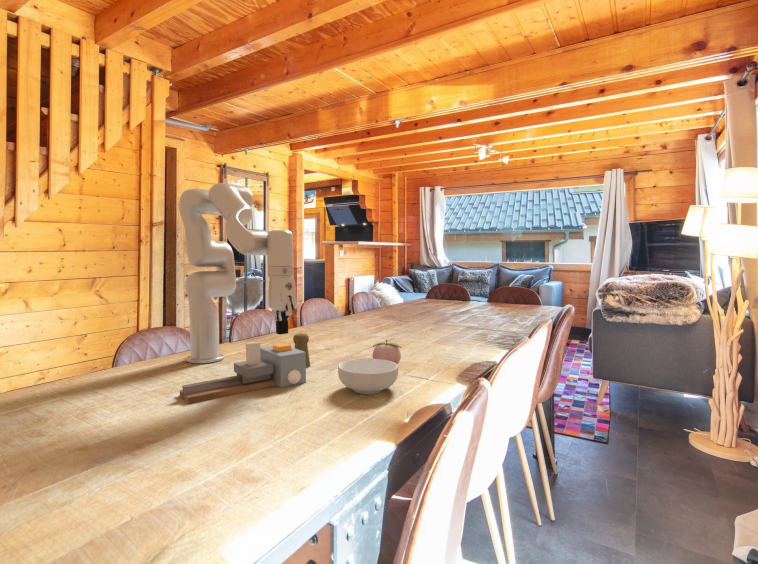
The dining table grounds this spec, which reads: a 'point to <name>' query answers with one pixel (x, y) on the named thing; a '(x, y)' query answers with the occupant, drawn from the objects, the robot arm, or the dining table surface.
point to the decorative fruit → (387, 352)
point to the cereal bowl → (367, 374)
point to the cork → (302, 345)
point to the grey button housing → (286, 365)
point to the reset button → (281, 347)
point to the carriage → (253, 365)
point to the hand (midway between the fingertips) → (282, 333)
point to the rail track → (221, 388)
